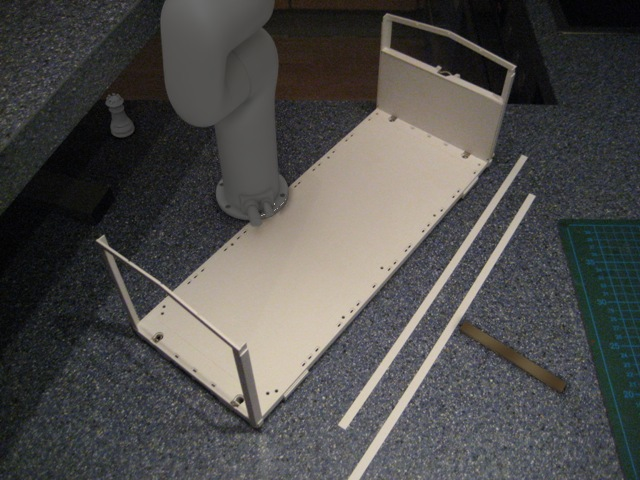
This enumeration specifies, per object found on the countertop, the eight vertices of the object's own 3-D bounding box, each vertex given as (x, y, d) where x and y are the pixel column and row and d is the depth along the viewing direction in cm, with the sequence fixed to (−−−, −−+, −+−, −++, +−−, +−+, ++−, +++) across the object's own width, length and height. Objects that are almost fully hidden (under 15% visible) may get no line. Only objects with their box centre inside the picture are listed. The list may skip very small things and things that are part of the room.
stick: (565, 385, 86) (567, 383, 85) (560, 393, 85) (561, 391, 84) (464, 322, 92) (465, 320, 92) (458, 330, 91) (459, 327, 91)
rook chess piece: (132, 139, 119) (122, 105, 112) (109, 138, 119) (98, 104, 112) (137, 124, 121) (128, 90, 115) (114, 123, 121) (104, 89, 115)
